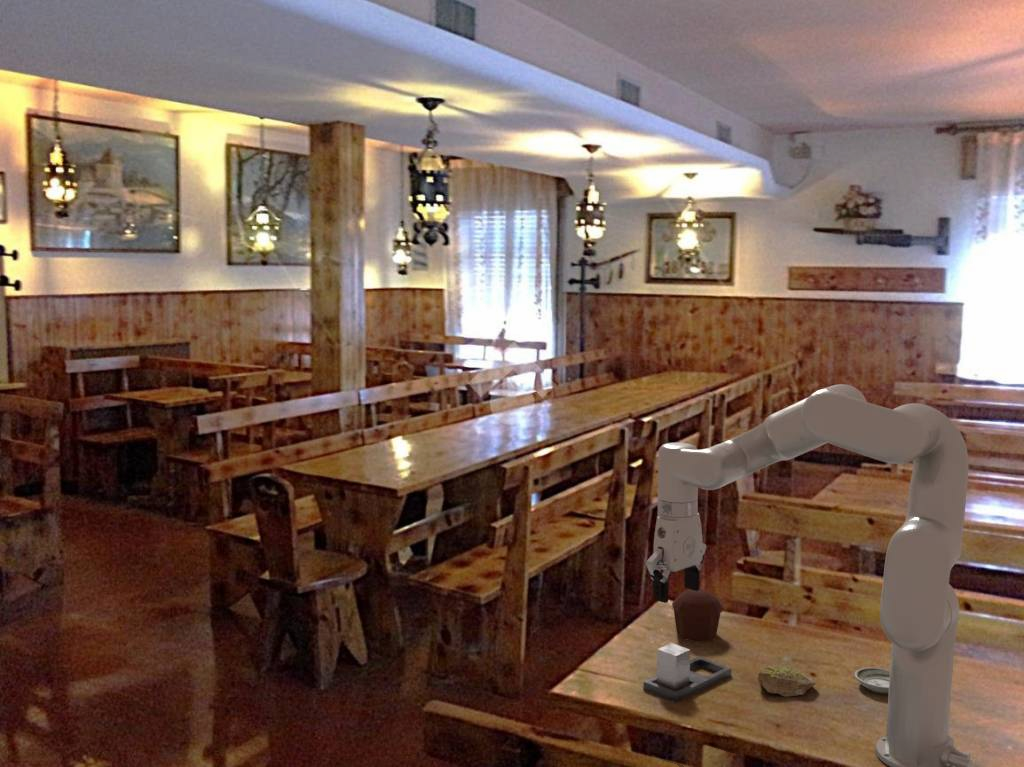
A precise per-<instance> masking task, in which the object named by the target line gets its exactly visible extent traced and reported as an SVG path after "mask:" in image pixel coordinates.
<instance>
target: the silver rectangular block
mask: <svg viewBox="0 0 1024 767" xmlns="http://www.w3.org/2000/svg"><path fill="white" fill-rule="evenodd" d="M656 656H657V657H656V676H657V684H658V685H660V686H662V687H665V688H667V689H670V690H672V691H675V692H676V691H678V690H680V689H683V688H685V687H687V686H689V676H690V660H691V649H689V648H687V647H684V646H681V645H678V644H675V643H673V642H671V643H668V644H666V645H664V646H661V647H659V648H657V650H656Z"/></svg>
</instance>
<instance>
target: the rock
mask: <svg viewBox="0 0 1024 767" xmlns="http://www.w3.org/2000/svg"><path fill="white" fill-rule="evenodd" d="M756 679H757V680H758V682H759V683H760V686H762V687H763V688H764V689H765V690H766V692H767V693H770V694H778V695H780V696H782V697H785V698H787V697H795V696H800V695H801V696H803V695H805V693H807V692H808V690H809V689H811V688H813V687H814V686H815V685H817V682H816V681H815V680H814V679H812V678H811V677H808V676H807V675H805V674H804V673H802V672H801V671H799V670H797V668H794V667H792V666H788V665H786V666H784V665H781V666H780V665H775V664H772V665H767V666H766V667H765V668H763V669H762V671H761V672H759V673H758V676H757V678H756Z"/></svg>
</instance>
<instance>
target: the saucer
mask: <svg viewBox="0 0 1024 767" xmlns="http://www.w3.org/2000/svg"><path fill="white" fill-rule="evenodd" d="M853 674H854V678H855V680H856V681H857V682H859V683H860V685H862V686H863V687H864V688H867V689H868V690H869V691H870V692H873V693H876V694H877V693H878V694H884V695H885V694H887V695H888V694H889V677H890V669H886V668H880V667H862V668H859V669H857V670H855V672H854V673H853Z"/></svg>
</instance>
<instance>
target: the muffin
mask: <svg viewBox="0 0 1024 767" xmlns="http://www.w3.org/2000/svg"><path fill="white" fill-rule="evenodd" d="M671 606H672V609H673V615H674V620H675V621H674V622H675V628H676V630H675V631H676V635H677V636H679V637H680V636H681V638H682V639H683V640H686V639H688V641H691V640H692V641H691V642H695V641H698V642H710V641H711V639H712V640H715V639H717V633H718V630H719V629H718V627H719V623H720V617H721V613H722V612H723V610H724V606H723V604H722V602H721V601H720V599H719V598H718V596H716V595H715V593H712V592H711V591H709V590H708V589H706V588H705V589H704V588H700V587H699V590H698V591H695V590H691V589H688V588H687V590H684V591H682V592H681V593H680V594H679V595H677V597H676V598H675V599H674V600H673V601H672V603H671ZM714 638H715V639H714ZM709 640H710V641H709Z"/></svg>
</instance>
